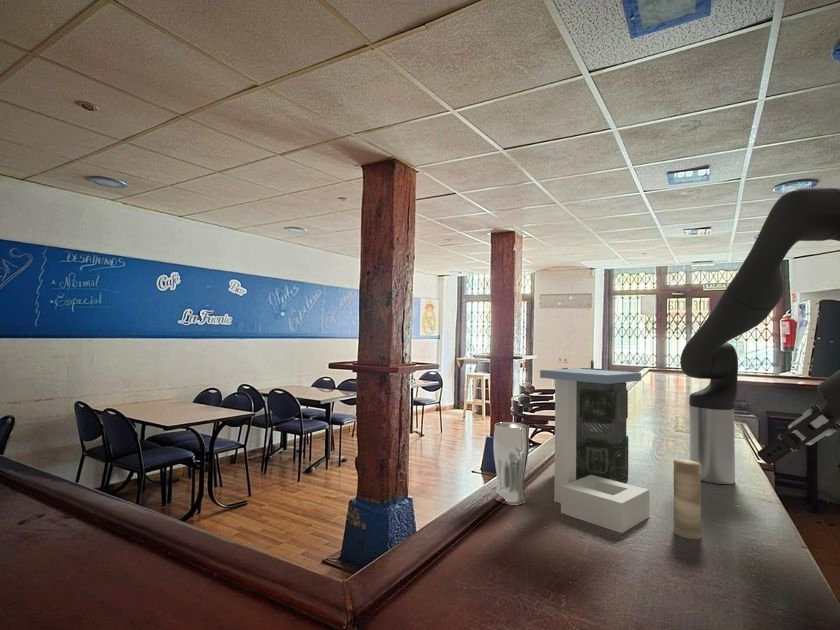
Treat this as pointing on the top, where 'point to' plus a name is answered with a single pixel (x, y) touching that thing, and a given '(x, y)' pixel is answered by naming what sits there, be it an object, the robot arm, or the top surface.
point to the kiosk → (590, 494)
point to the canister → (601, 430)
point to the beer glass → (511, 460)
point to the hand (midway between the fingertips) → (769, 454)
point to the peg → (687, 499)
